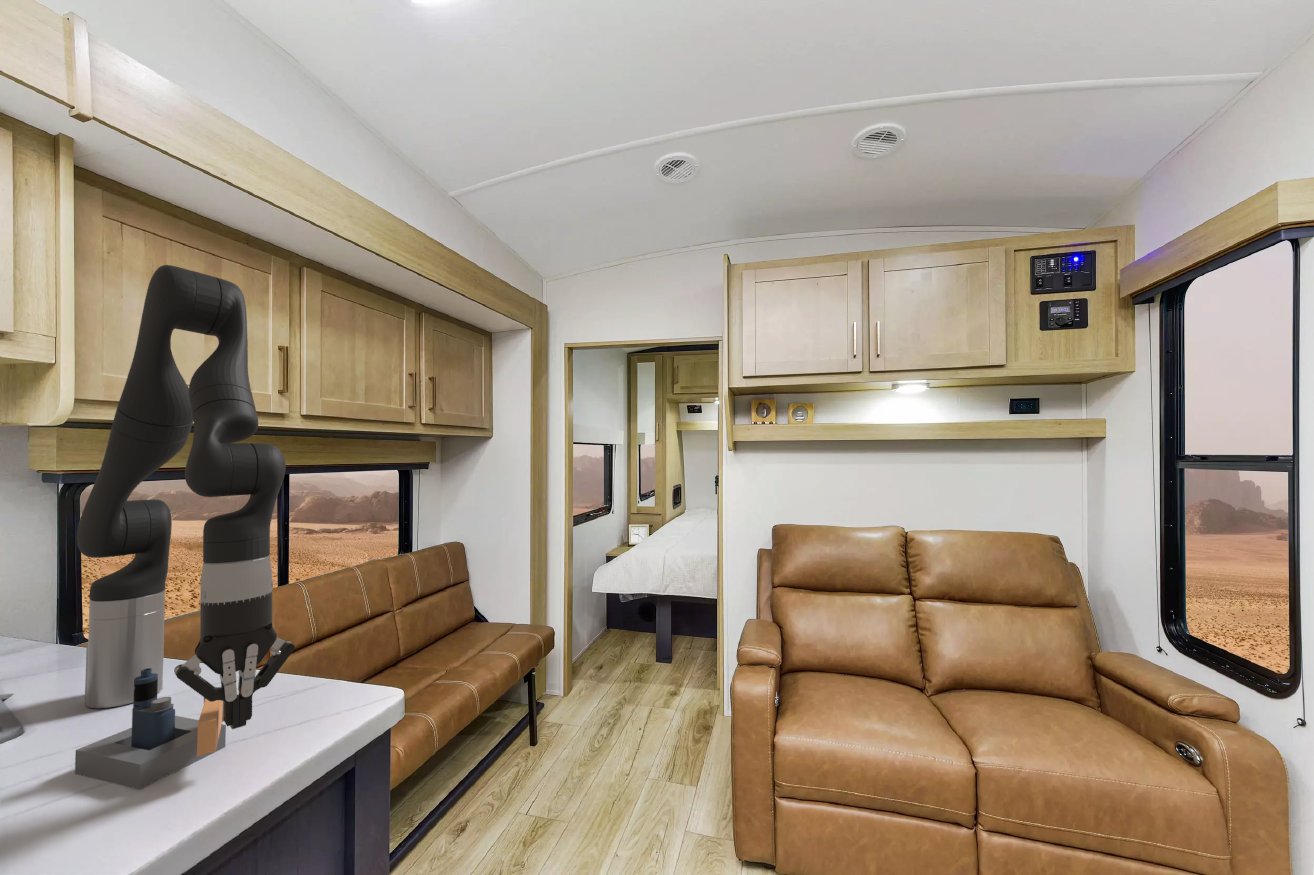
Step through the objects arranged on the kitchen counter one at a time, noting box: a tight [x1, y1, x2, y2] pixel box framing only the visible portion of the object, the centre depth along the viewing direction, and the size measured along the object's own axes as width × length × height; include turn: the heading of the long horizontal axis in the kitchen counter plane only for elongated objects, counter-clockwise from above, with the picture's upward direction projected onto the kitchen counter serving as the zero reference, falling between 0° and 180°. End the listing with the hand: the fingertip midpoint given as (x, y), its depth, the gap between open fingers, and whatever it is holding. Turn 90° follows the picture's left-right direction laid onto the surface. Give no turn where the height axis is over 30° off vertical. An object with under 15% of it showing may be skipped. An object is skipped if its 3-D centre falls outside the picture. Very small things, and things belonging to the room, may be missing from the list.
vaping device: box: [131, 668, 176, 750], centre depth 72 cm, size 3×5×12 cm, turn 80°
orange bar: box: [197, 697, 224, 756], centre depth 72 cm, size 11×2×4 cm, turn 35°
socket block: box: [74, 715, 227, 790], centre depth 72 cm, size 12×10×3 cm
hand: (237, 725), depth 70 cm, fingers closed
